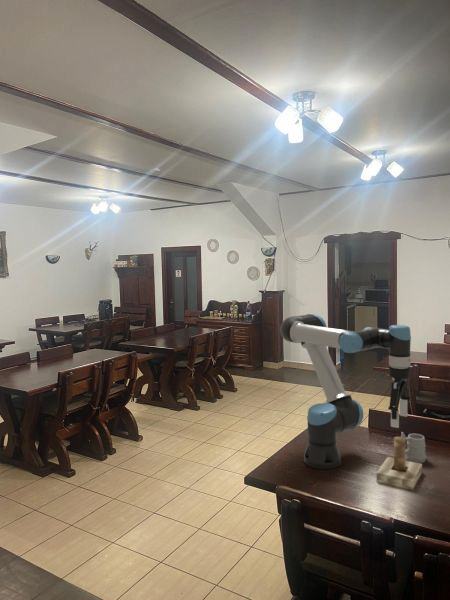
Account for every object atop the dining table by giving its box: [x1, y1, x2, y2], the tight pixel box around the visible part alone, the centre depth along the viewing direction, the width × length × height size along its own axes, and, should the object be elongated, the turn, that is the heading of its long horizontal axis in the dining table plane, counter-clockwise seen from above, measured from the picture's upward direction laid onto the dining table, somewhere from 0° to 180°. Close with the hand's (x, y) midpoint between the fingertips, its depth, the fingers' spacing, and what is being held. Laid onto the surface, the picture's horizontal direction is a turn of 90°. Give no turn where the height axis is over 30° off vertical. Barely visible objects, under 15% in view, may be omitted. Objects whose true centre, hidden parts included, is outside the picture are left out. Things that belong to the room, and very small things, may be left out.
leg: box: [393, 436, 406, 472], centre depth 173 cm, size 4×4×14 cm
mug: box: [400, 431, 427, 464], centre depth 188 cm, size 8×12×12 cm, turn 95°
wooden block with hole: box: [376, 456, 423, 491], centre depth 174 cm, size 13×16×4 cm
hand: (399, 421), depth 172 cm, fingers open, 13 cm apart
